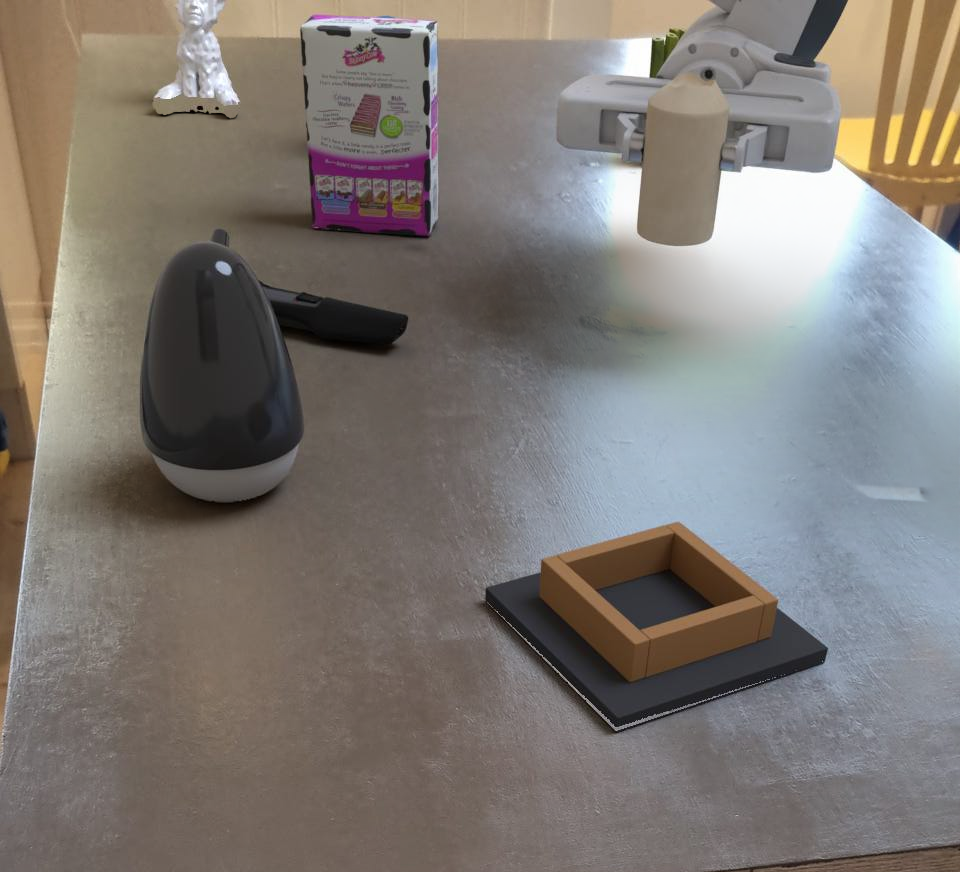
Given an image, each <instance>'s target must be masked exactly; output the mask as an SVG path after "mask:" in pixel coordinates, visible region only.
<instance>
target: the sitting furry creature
mask: <svg viewBox="0 0 960 872" xmlns="http://www.w3.org/2000/svg"><path fill="white" fill-rule="evenodd" d="M226 1H227V0H177V1H176V3H175V4H174V9H175V11H177V16H178V17H177V20H178V22H180V24H182V26H183V27H184V28H183V29H182V31H181V33H180V34H178V42H177V45H176V46H177V47H176V60H177V62H178V65H177V66H178V70H177V72H176V73H175V80H174V81H173V82H171V83H169V84H166V85H165V86H163V87H162V88H159V89H158V91H157V93H155V95H154V96H153V97H154V98H157V97H160V99H171V98H174V97H176V96H178V95H180V94H182V93H184V95H185V96H187V97H197V96H198V91H199V96H200V97H201V98H214V97H215V95H216V98H217V101H219V102H220V103H221V104H223V105H224V106H226V105H238V102H240V103H241V100H240V99H239V98H238V93H236V92H235V91H234V88H233V86H232V81H231V79H230V78H229V73H228V71H227V67H225V64H224V62H223V60H222V59H223V57H222V53H221V46H220V43H218V38H217V37H216V36H215V33H214V32H213V31H212V30H211V29H212V28H213V26H214V25H215V24H216V25H217V23H218V20H219V13H221V12H222V11H223V10H224V8H225V5H226ZM214 94H215V95H214Z"/></svg>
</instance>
